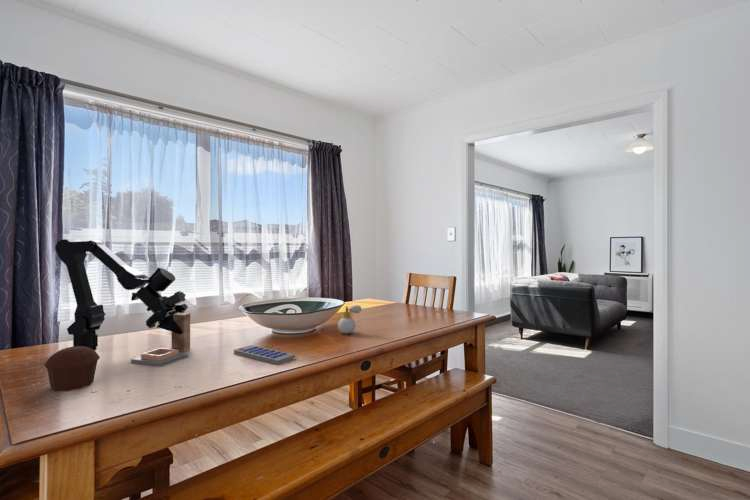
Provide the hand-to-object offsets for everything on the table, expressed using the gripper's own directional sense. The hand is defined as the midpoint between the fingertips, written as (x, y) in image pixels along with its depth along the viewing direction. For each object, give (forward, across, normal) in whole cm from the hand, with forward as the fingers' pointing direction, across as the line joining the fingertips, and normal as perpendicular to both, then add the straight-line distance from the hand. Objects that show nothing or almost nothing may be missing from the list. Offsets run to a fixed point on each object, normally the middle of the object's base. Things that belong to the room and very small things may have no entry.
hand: (184, 331), depth 137 cm
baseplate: (+2, -10, +7) cm, 13 cm away
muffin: (-5, -34, +14) cm, 37 cm away
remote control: (+26, -5, -16) cm, 31 cm away
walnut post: (+4, 0, +6) cm, 7 cm away
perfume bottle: (+45, +29, -35) cm, 64 cm away
